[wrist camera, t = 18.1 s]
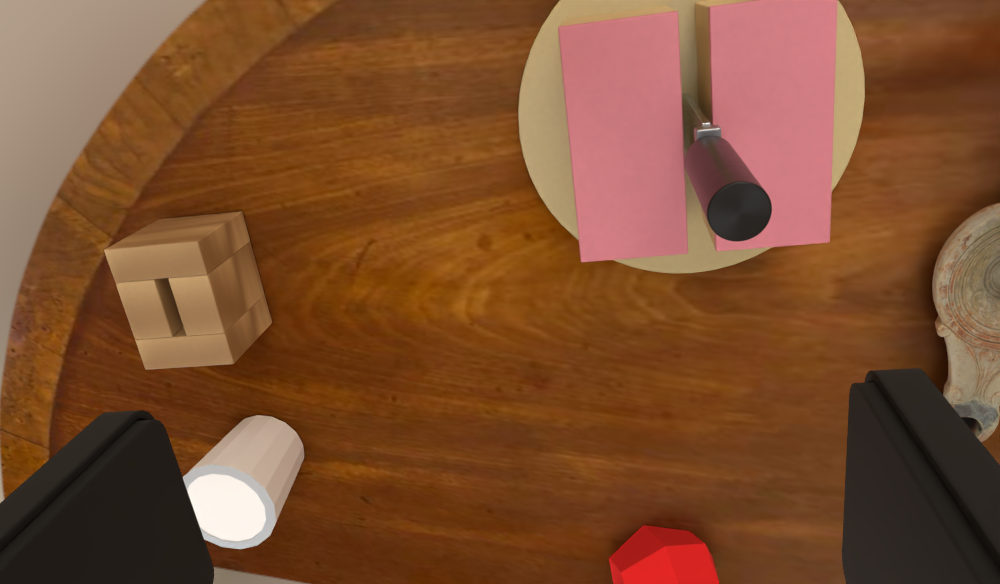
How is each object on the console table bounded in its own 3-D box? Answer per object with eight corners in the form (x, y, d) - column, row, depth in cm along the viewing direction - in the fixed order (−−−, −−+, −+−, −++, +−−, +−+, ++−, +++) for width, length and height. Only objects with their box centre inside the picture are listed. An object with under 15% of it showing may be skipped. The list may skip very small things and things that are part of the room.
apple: (741, 566, 48) (625, 606, 47) (738, 628, 52) (630, 667, 51) (690, 489, 54) (585, 523, 53) (690, 550, 58) (592, 583, 56)
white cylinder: (306, 495, 57) (269, 561, 51) (219, 471, 58) (172, 534, 51) (318, 421, 55) (280, 482, 48) (227, 397, 55) (177, 453, 48)
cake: (498, -41, 41) (481, -43, 35) (870, -97, 38) (921, -109, 32) (538, 281, 48) (529, 326, 42) (854, 257, 45) (893, 301, 39)
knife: (665, 95, 42) (705, 173, 26) (706, 90, 42) (772, 167, 26) (668, 148, 43) (708, 255, 27) (707, 144, 43) (772, 250, 27)
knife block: (157, 219, 50) (103, 250, 44) (242, 210, 49) (197, 241, 43) (192, 328, 53) (145, 370, 47) (272, 322, 52) (234, 364, 46)
